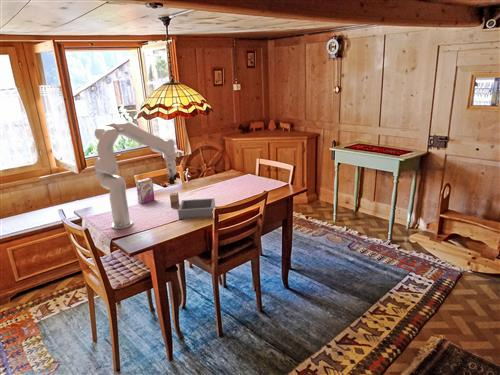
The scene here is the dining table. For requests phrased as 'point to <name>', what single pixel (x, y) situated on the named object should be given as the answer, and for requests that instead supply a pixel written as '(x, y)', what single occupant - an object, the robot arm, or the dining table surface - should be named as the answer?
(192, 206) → the bin
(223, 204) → the dining table surface
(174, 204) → the walnut block
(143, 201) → the candy bar box
